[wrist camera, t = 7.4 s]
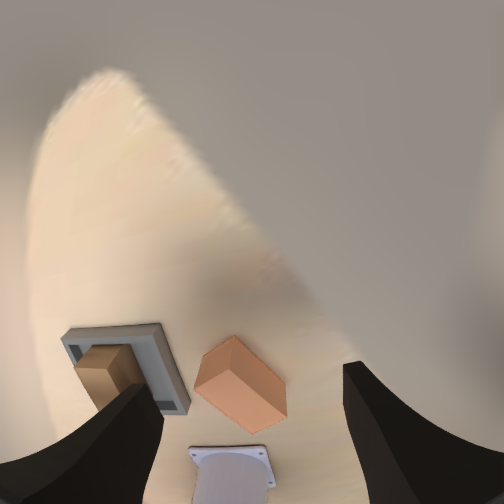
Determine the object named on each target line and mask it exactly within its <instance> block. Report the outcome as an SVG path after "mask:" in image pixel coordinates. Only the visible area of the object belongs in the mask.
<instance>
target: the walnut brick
mask: <svg viewBox="0 0 504 504" xmlns="http://www.w3.org/2000/svg"><path fill="white" fill-rule="evenodd" d="M73 368H74V369H75V371H76V373H77V375H78V377H79V379H80V380H81V382H82V384H83V386H84V388H85V389H86V391H87V393H88V394H89V396H90V398H91V399H92V401H93V403H94V404H95V406H96V407H97V409H98V411H101V410H102V409H103V408H104V407H105V406H106V405H108V404H109V403H110V402H111V401H112V400H113V399H114V398H116V397H117V396H118V395H119V394H120V393H121V392H123V391H124V390H125V389H126V388H127V387H129V386H130V385H131V384H133V383H146V384H147V386H148V388H149V390H150V392H151V394H152V396H153V393H152V391H151V389H150V387H149V385H148V383H147V381H146V378H145V376H144V374H143V372H142V370H141V368H140V365H139V363H138V361H137V359H136V356H135V354H134V352H133V349H132V347H131V345H130V343H128V344H94V345H92V346H91V347H90V348H89V349H88V351H87V352H86V353H85V354H84V355H83V357H82V358H81V359H80V360H79V361H78V363H77V364H76V365H75V366H74V367H73Z"/></svg>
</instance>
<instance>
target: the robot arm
mask: <svg viewBox="0 0 504 504" xmlns="http://www.w3.org/2000/svg"><path fill="white" fill-rule="evenodd" d="M343 406H344V410H345V415H346V420H347V425H348V428H349V431H350V434H351V437H352V440H353V443H354V446H355V449H356V452H357V455H358V458H359V461H360V464H361V467H362V470H363V473H364V477H365V480H366V484H367V489H368V495H369V500H370V504H504V453H502V452H498V451H493V450H490V449H487V448H484V447H481V446H478V445H475V444H473V443H470V442H468V441H466V440H464V439H461V438H459V437H457V436H455V435H453V434H451V433H449V432H447V431H445V430H443V429H442V428H440V427H438V426H436V425H434V424H433V423H432V422H430V421H428V420H427V419H425V418H424V417H422V416H421V415H420V414H418V413H417V412H415V411H414V410H413V409H412V408H410V407H409V406H408V405H406V404H405V403H404V402H403V401H402V400H400V399H399V398H398V397H397V396H396V395H395V394H394V393H393V392H391V391H390V390H389V389H388V388H387V387H386V386H385V385H384V384H383V383H382V382H381V381H380V380H379V379H378V378H377V377H376V376H375V375H374V374H373V373H372V372H371V371H370V370H369V369H368V368H367V367H366V366H365V364H364V363H363V362H361V361H356V362H351V363H347V364H343ZM163 424H164V417H163V415H162V414H161V412H160V410H159V408H158V406H157V404H156V402H155V400H154V398H153V396H152V394H151V392H150V390H149V388H148V386H147V384H146V383H133V384H131V385H130V386H129V387H127V388H126V389H125V390H124V391H123V392H121V393H120V394H119V395H118V396H117V397H116V398H114V399H113V400H112V401H111V402H110V403H109V404H108V405H106V406H105V407H104V408H103V409H102V410H101V411H99V412H98V413H97V414H96V415H95V416H93V417H92V418H91V419H90V420H88V421H87V422H86V423H84V424H83V425H82V426H81V427H79V428H78V429H77V430H75V431H74V432H72V433H71V434H69V435H68V436H66V437H65V438H63V439H62V440H60V441H58V442H57V443H55V444H53V445H51V446H49V447H47V448H45V449H43V450H41V451H39V452H37V453H34V454H32V455H29V456H26V457H24V458H21V459H18V460H14V461H11V462H6V463H2V464H0V504H142V500H143V494H144V490H145V486H146V483H147V480H148V477H149V474H150V471H151V468H152V465H153V462H154V459H155V456H156V453H157V450H158V447H159V444H160V441H161V436H162V430H163ZM188 453H189V454H190V456H191V457H192V459H193V461H194V462H195V464H196V466H197V467H198V469H199V471H198V476H197V481H196V486H195V491H194V496H193V501H192V504H268V488H273V487H276V481H275V478H274V475H273V471H272V468H271V465H270V462H269V458H268V455H267V451H266V448H265V447H264V446H249V447H224V448H196V447H191V448H189V449H188Z"/></svg>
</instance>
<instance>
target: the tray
mask: <svg viewBox="0 0 504 504" xmlns="http://www.w3.org/2000/svg"><path fill="white" fill-rule="evenodd" d="M61 341H62V343H63V345H64V347H65V349H66V351H67V353H68V355H69V357H70V359H71V361H72V363H73V365H74V366H75V365H76V364H77V363H78V361H79V360H80V359H81V358H82V357H83V355H84V354H85V353H86V352H87V351H88V349H89V348H90V347H91V346H92V345H94V344H128V343H130V345H131V347H132V349H133V352H134V354H135V356H136V359H137V361H138V363H139V365H140V368H141V370H142V372H143V374H144V376H145V378H146V381H147V383H148V385H149V387H150V389H151V391H152V393H153V398H154V400H155V402H156V404H157V406H158V408H159V410H160V412H161V414H162V415H187V413H188V410H189V406H190V403H191V401H190V399H189V396H188V394H187V392H186V389H185V387H184V384H183V382H182V380H181V377H180V375H179V372H178V370H177V367H176V365H175V362H174V360H173V357H172V354H171V352H170V349H169V346H168V344H167V341H166V338H165V335H164V333H163V330H162V327H161V324H160V323H154V324H142V325H129V326H115V327H99V328H79V329H70V330H69V331H68V332H67V333H66V334H65V335H64V336H63V337H62V338H61Z"/></svg>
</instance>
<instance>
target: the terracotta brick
mask: <svg viewBox="0 0 504 504" xmlns="http://www.w3.org/2000/svg"><path fill="white" fill-rule="evenodd" d="M193 390H194V391H195V392H197V393H198V394H199V395H200V396H202V397H203V398H204V399H205V400H207V401H208V402H209V403H210V404H212V405H213V406H214V407H216V408H217V409H218V410H219V411H221V412H222V413H223V414H225V415H226V416H227V417H229V418H230V419H231V420H233V421H234V422H236V423H237V424H238V425H240V426H241V427H242V428H244V429H245V430H247V431H248V432H250V433H251V434H254V433H256V432H258V431H261V430H263V429H265V428H267V427H269V426H271V425H273V424H276V423H278V422H280V421H282V420H284V419H286V418H287V406H286V392H285V383H284V382H283V381H282V380H281V379H280V378H279V377H278V376H277V375H276V374H275V373H274V372H272V371H271V370H270V369H269V368H268V367H267V366H266V365H265V364H264V363H263V362H262V361H261V360H260V359H259V358H257V357H256V356H255V355H254V354H253V353H252V352H251V351H250V350H249V349H248V348H247V347H246V346H245V345H244V344H243V343H242V342H241V341H240V340H239V339H238V338H237V337H236V336H235V335H234V336H233V337H231V338H230V339H228V340H227V341H225V342H224V343H222V344H221V345H219V346H218V347H216V348H215V349H213V350H212V351H210V352H209V353H207V354H206V355H204V356H203V359H202V362H201V366H200V369H199V372H198V376H197V379H196V382H195V385H194V389H193Z"/></svg>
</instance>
